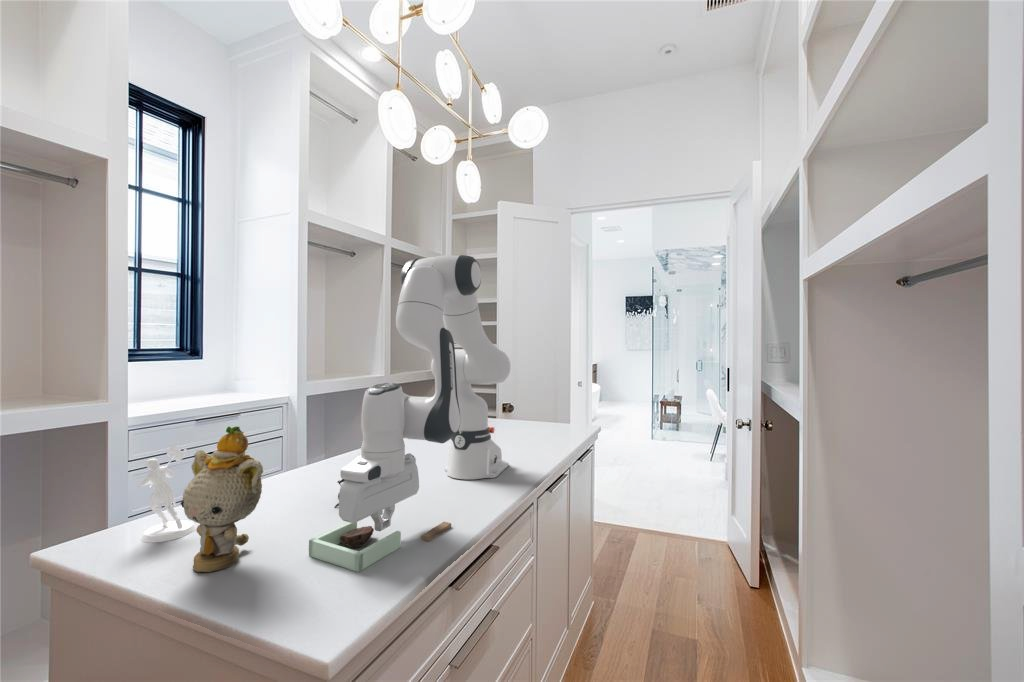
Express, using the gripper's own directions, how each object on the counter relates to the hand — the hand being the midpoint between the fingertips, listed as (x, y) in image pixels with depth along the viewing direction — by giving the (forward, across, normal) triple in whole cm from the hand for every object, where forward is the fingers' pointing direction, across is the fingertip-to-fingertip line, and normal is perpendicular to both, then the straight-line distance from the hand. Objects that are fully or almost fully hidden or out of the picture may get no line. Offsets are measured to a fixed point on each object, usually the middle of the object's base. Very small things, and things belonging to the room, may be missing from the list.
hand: (382, 528), depth 91 cm
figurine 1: (+2, +18, -43) cm, 47 cm away
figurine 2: (+2, +21, -19) cm, 28 cm away
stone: (+2, +4, -3) cm, 5 cm away
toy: (+2, -12, -22) cm, 25 cm away
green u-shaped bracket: (+2, +7, -1) cm, 7 cm away
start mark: (+2, -7, +8) cm, 11 cm away
